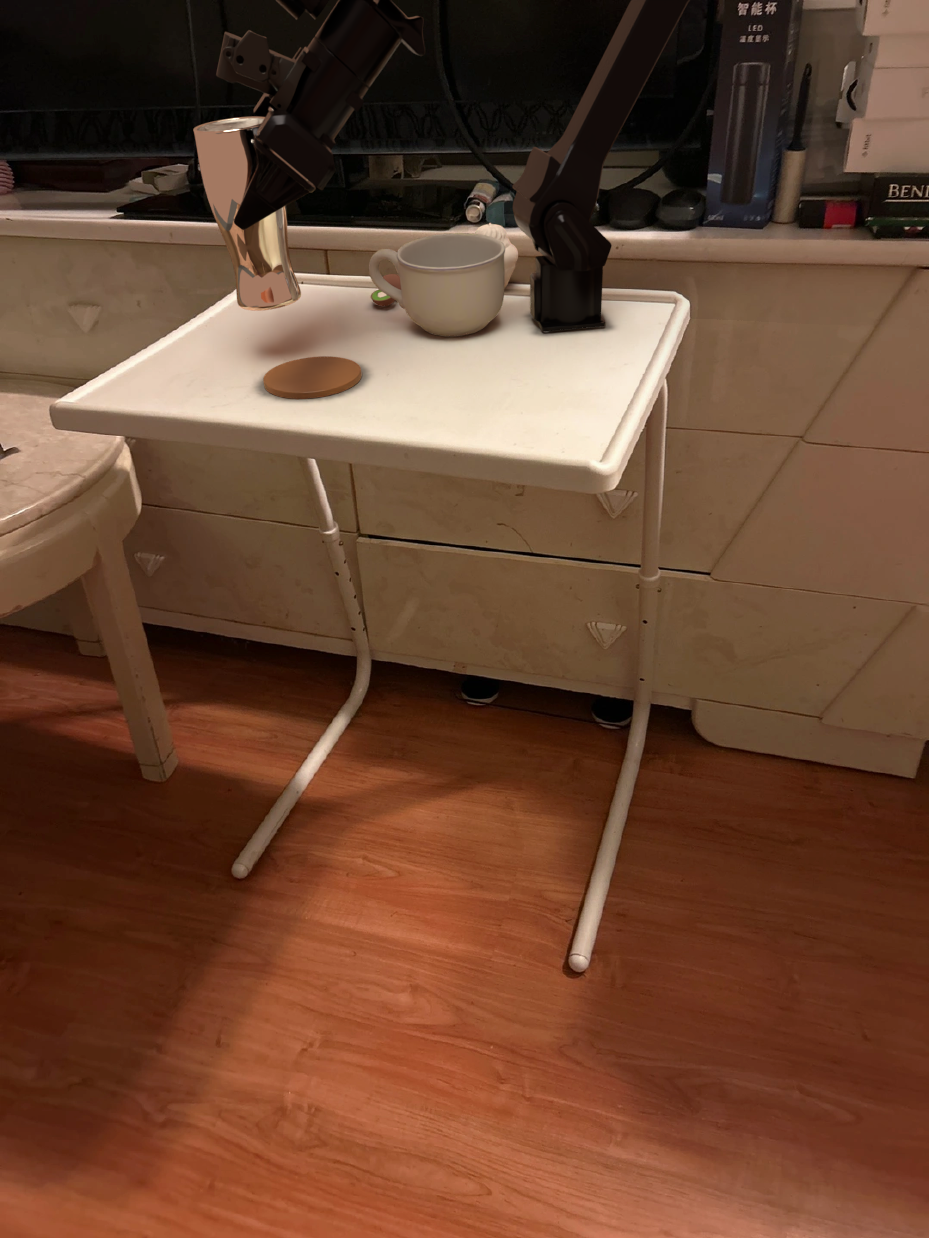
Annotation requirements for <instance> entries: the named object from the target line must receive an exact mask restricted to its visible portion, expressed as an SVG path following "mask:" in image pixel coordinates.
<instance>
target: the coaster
mask: <svg viewBox="0 0 929 1238" xmlns="http://www.w3.org/2000/svg"><path fill="white" fill-rule="evenodd" d="M362 375H363V373H362V367H361V366H360V364H359V363H357V362H356V361H354V360H351V359H349V358H345V357H339V356H328V355H327V356H325V355H322V356H321V355H320V356H308V357H303V358H298V359H292V360H288V361H286V362H283V363H280V364H278V365H276V366H274V367H272V368H270V369H269V370H268V371H267V372H265V374H264V376H263V379H262V380H263V381H262V382H263V386H264V389H265V390H266V391H267V392H268V393H270V394H271V395H274V396H277V397H280V398H285V399H295V400H296V399H298V400H303V399H304V400H305V399H316V398H317V399H318V398H322V397H328V396H332V395H336V394H339V393H342V392H344V391H347V390H349V389H351V388H353V387H354V386H355V385H357V384H358V383H359V382H360V381H361V379H362Z"/></svg>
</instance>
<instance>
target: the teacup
mask: <svg viewBox="0 0 929 1238" xmlns="http://www.w3.org/2000/svg"><path fill="white" fill-rule="evenodd" d="M504 253H505V246H504V244H503V243H502V242H501V241H500V240H498V239H495V238H493V237H490V236H486V235H479V234H475V232H474V233H473V232H472V233H470V232H450V233H439V234H438V233H437V234H431V235H426V236H422V237H418V238H416V239H413V240H411V241H408V242H406V243H405V244H403V245H401V247H399V248H398V250H397V251H396V250H394V249H392V248H381V249H379V250H377V251H375V252H374V253H373V255H372V256H371V257H370V260H369V263H368V274H369V277H370V280H371V282H372V283H373V285H374V286H375V287H376V288H377V290H378V289H379V290H380V291H382V292H383V293H385V294H386V295H388V296H390V297H391V298H393V299H395V301H396V302H397V303H398V305H399V307H401V308H402V309H404V310H405V312H406V315H407V316H408V318H409V320H411V321H412V322H413V323H414V324H416V325H417V326H419V327H420V328H421V329H422V330H424V331H425V332H427V333H429V334H431V335H435V336H439V337H461V336H468V335H472V334H475V333H477V332H479V331H482V330H483V329H485V328H486V327H487V326H488V325H489V323H490V322H492V320H494V319H495V318H496V317H497V316H498V314H499V313H500V312H501V309H502V307H503V304H504V298H505V288H504ZM382 261H389V262H390V263H391V264H392V265H393V267H394V268H395V271H396V275H398V276H400V283H401V290H400V289H397V288H395V287H394V286H392V285H390V284H389V283H388V282H387V281H386V280H385V279H384V278H383V276H382V274H381V272H380V263H381V262H382Z"/></svg>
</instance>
